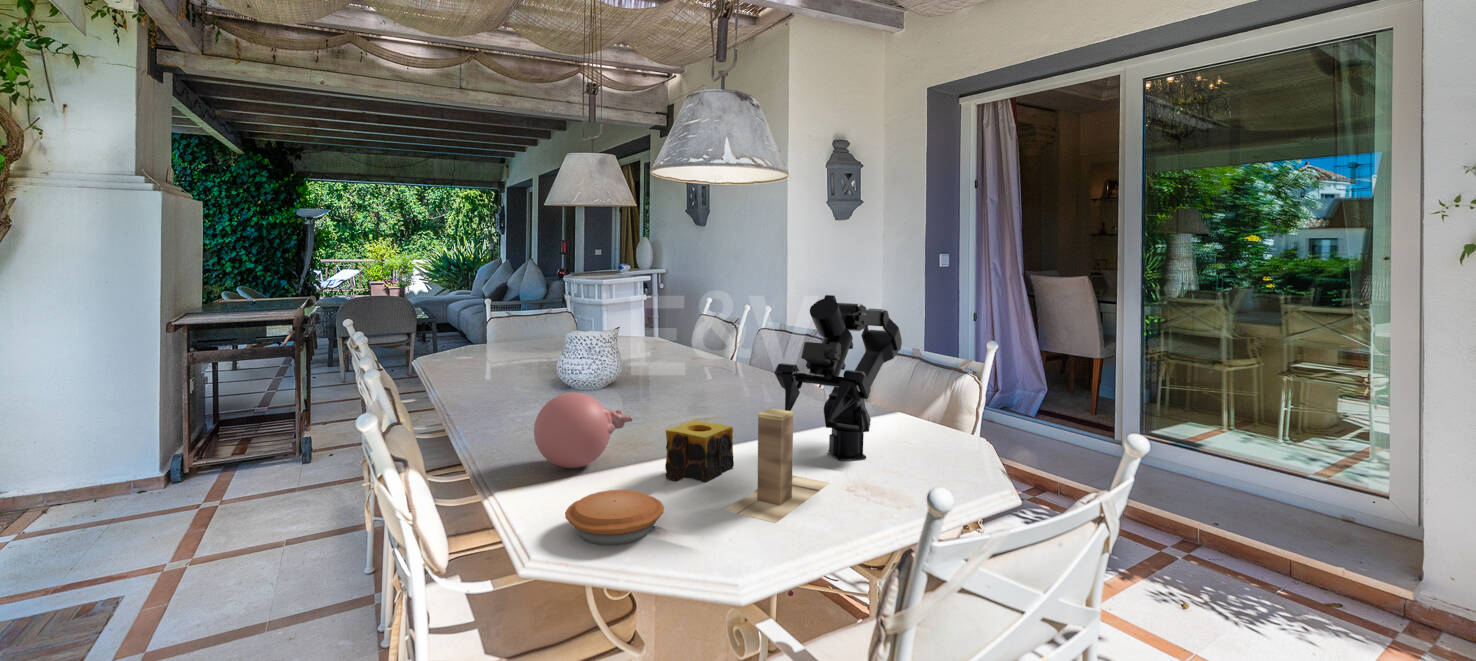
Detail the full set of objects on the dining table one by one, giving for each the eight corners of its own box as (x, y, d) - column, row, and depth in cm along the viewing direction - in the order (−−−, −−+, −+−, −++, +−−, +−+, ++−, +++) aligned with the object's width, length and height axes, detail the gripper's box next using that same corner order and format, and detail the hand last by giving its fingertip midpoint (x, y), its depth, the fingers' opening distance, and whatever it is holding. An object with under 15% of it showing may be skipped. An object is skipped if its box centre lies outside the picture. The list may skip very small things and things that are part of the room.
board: (782, 479, 132) (783, 473, 132) (830, 488, 127) (830, 482, 127) (723, 516, 113) (723, 510, 113) (775, 529, 108) (776, 522, 108)
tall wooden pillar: (769, 492, 122) (770, 408, 120) (792, 497, 119) (793, 411, 117) (756, 500, 118) (757, 413, 116) (780, 505, 115) (781, 417, 113)
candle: (706, 489, 127) (706, 438, 125) (663, 479, 132) (663, 430, 131) (734, 474, 135) (735, 426, 134) (694, 465, 140) (694, 419, 139)
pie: (601, 506, 118) (601, 479, 117) (680, 520, 112) (680, 491, 112) (545, 541, 104) (544, 510, 103) (631, 559, 98) (631, 527, 97)
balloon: (635, 475, 134) (634, 399, 132) (530, 480, 130) (528, 403, 128) (632, 452, 149) (631, 384, 147) (538, 456, 145) (536, 387, 143)
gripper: (779, 323, 136) (751, 385, 128) (867, 329, 126) (843, 397, 118) (795, 357, 143) (770, 418, 135) (880, 365, 134) (858, 431, 126)
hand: (808, 415), depth 128 cm, fingers open, 9 cm apart
